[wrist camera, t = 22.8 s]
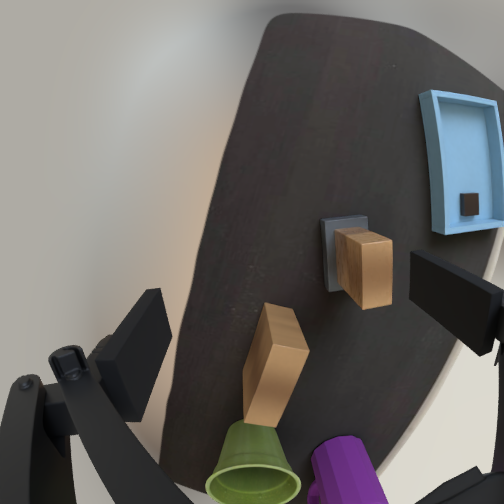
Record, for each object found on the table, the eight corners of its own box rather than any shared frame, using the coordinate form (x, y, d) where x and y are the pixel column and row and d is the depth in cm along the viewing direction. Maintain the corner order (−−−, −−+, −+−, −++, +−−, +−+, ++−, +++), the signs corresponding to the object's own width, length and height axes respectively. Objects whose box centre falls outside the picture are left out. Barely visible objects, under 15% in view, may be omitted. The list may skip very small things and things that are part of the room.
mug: (372, 436, 43) (403, 500, 28) (327, 486, 45) (343, 546, 31) (327, 430, 42) (351, 504, 27) (284, 483, 44) (294, 548, 30)
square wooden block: (264, 302, 36) (273, 343, 27) (292, 308, 37) (309, 351, 27) (242, 370, 38) (243, 422, 29) (268, 376, 39) (276, 427, 29)
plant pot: (233, 394, 39) (232, 454, 28) (305, 420, 41) (320, 476, 30) (198, 442, 41) (190, 497, 30) (264, 463, 43) (269, 516, 32)
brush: (319, 218, 34) (349, 233, 25) (360, 214, 34) (401, 227, 25) (324, 286, 36) (352, 322, 26) (363, 280, 36) (400, 312, 26)
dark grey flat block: (459, 193, 34) (464, 193, 33) (474, 192, 34) (478, 192, 33) (460, 215, 34) (464, 216, 33) (475, 214, 34) (479, 215, 33)
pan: (418, 94, 31) (430, 89, 28) (483, 104, 31) (496, 101, 28) (431, 230, 35) (445, 235, 32) (493, 222, 35) (506, 226, 32)
